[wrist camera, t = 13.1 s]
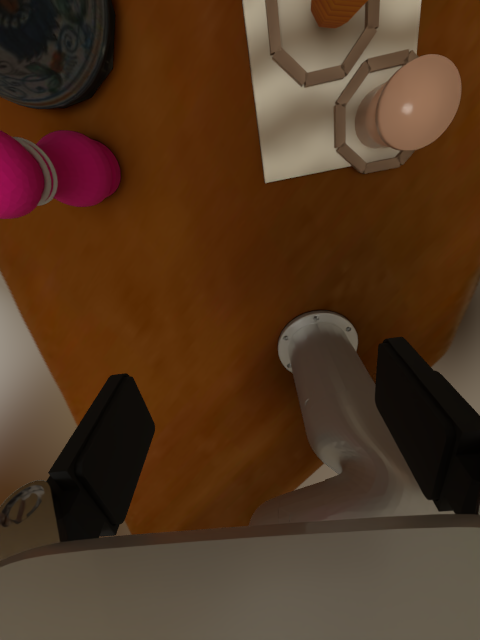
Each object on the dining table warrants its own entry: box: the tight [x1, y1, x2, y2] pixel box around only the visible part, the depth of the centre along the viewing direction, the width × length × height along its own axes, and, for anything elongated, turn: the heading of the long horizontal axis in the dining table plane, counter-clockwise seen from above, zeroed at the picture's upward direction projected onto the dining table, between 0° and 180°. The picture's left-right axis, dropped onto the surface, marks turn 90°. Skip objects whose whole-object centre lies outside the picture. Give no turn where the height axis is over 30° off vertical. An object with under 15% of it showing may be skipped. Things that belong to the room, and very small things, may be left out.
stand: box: [242, 0, 421, 183], centre depth 28 cm, size 23×18×2 cm
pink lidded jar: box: [355, 54, 461, 151], centre depth 27 cm, size 6×6×8 cm
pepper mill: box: [0, 130, 121, 219], centre depth 25 cm, size 7×7×20 cm
